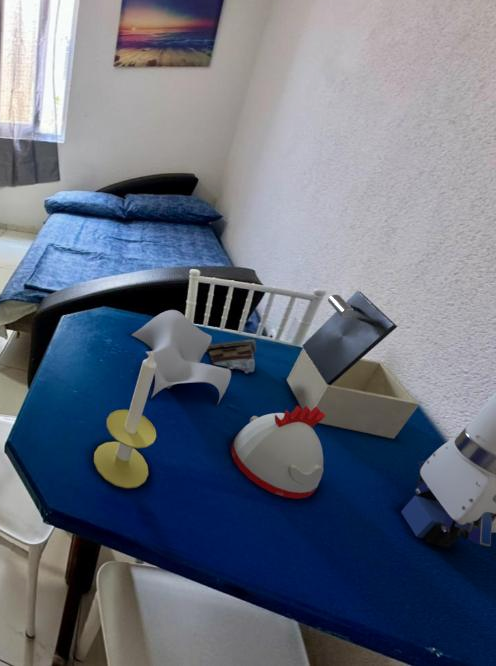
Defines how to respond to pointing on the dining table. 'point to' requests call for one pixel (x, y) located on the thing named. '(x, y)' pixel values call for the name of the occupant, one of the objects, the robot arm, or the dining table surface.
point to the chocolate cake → (234, 354)
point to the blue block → (424, 515)
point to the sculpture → (180, 352)
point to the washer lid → (347, 335)
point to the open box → (354, 396)
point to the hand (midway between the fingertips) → (425, 526)
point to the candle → (129, 437)
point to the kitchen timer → (282, 452)
